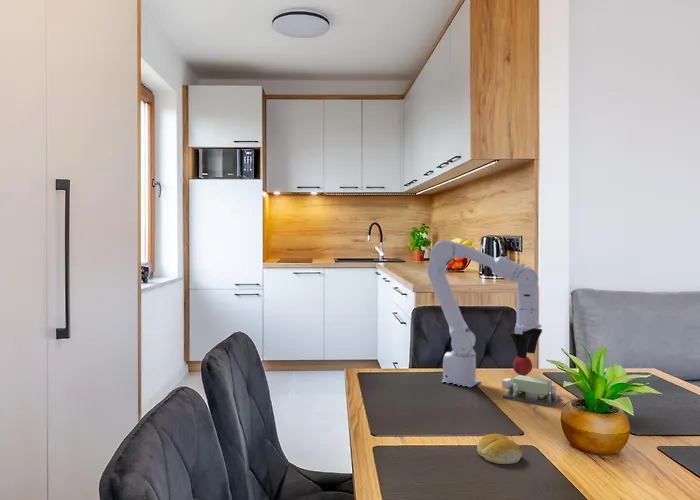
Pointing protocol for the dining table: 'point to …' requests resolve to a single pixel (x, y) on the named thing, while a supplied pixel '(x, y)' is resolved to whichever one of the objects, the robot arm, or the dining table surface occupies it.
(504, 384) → the stand
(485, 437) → the bread roll
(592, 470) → the dining table surface
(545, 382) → the pale green block
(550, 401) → the chassis
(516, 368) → the onion
